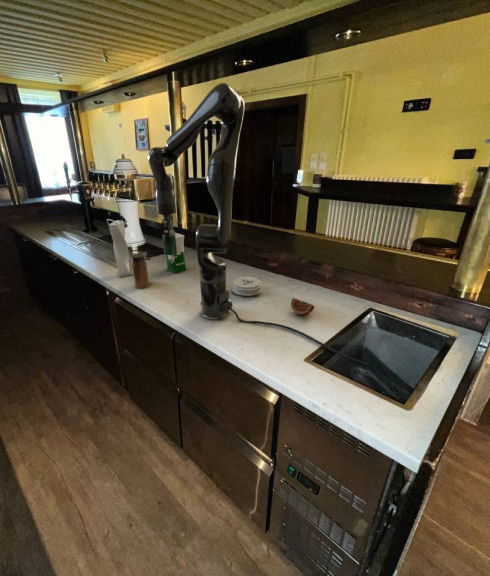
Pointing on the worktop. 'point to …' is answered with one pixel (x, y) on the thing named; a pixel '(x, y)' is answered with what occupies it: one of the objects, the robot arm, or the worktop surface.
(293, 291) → the worktop surface
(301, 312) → the fruit slice
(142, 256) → the amber bottle
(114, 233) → the white paper bag
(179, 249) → the milk carton
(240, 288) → the lid
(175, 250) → the green bottle
